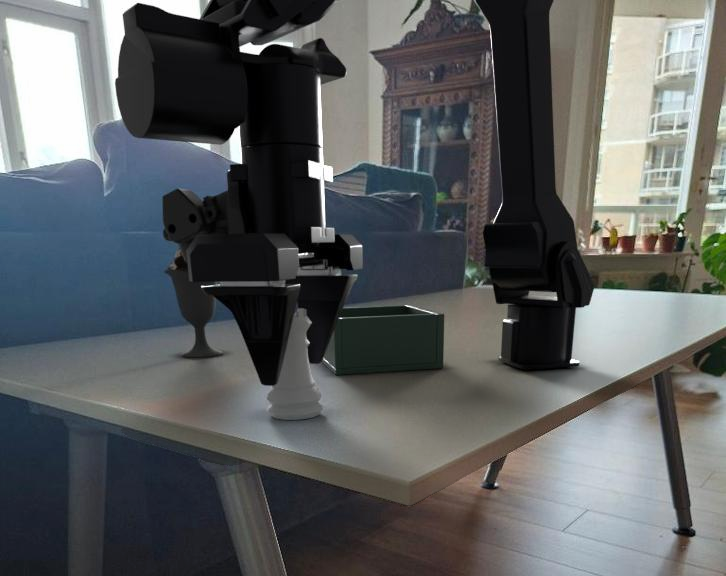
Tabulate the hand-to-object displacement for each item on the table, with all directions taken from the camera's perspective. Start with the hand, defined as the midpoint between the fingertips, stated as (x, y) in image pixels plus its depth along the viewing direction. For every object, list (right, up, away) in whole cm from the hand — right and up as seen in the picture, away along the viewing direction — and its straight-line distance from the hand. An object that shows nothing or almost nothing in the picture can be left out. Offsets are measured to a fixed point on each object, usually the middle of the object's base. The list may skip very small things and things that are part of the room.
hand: (293, 373), depth 52 cm
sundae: (-15, +7, +31) cm, 35 cm away
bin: (+7, +5, +23) cm, 24 cm away
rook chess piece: (0, -3, +1) cm, 3 cm away
